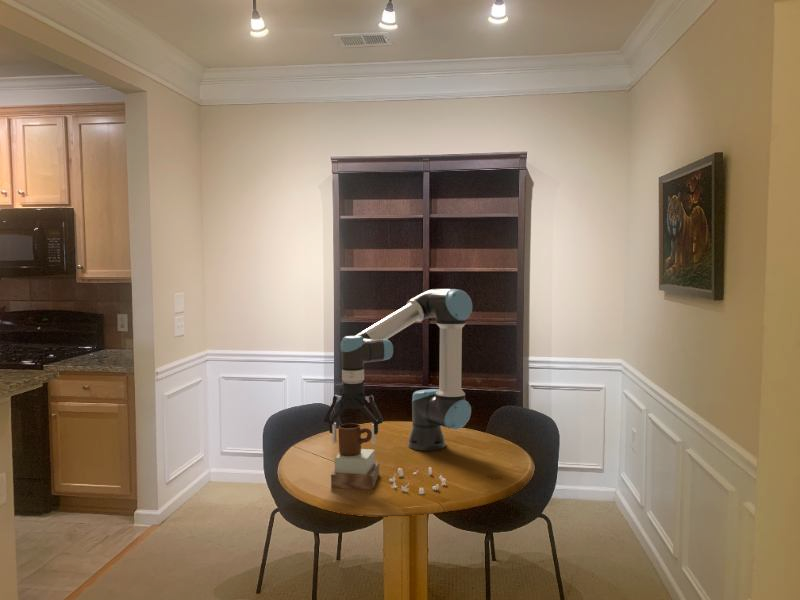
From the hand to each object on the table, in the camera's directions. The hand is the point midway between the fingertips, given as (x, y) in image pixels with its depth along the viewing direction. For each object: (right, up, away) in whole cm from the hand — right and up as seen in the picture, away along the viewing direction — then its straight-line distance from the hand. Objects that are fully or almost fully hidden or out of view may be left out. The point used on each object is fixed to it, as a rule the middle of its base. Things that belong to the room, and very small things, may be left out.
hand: (354, 443), depth 199 cm
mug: (+1, -4, 0) cm, 4 cm away
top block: (0, -9, +1) cm, 9 cm away
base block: (+1, -14, +1) cm, 14 cm away
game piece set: (+22, -14, -2) cm, 26 cm away
